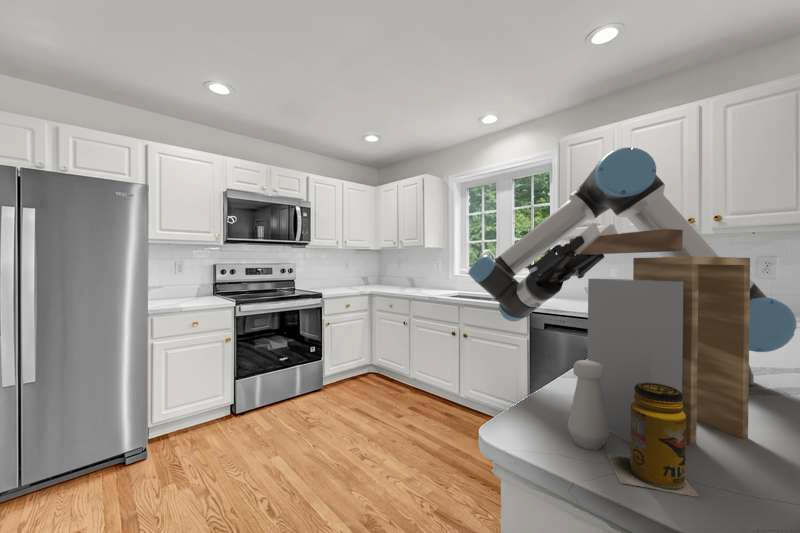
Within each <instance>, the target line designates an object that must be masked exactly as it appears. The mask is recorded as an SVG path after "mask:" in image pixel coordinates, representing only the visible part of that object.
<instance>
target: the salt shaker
mask: <svg viewBox="0 0 800 533" xmlns="http://www.w3.org/2000/svg"><path fill="white" fill-rule="evenodd" d="M572 367H573V369H572V370H573V371H572V372H573V375H575V376H576V377H577V378H576V379H577V380H576V384H575V385H576V386H575V389H574V394H573V399H572V403H571V407H570V412H569V417H568V419H567V429H568V431H569V433H570V435H571V438H572V441H573V444H575V445H576V446H579V447H580V448H583V449H584V450H593V451H594V450H595V451H598V450H600V449H601V448H602V447H603V446H604V444H605V443H606V441H607V439H608V437H609V433H610V431H609V429H608V423H607V418H606V412H605V407H604V401H603V396H602V390H601V385H600V379H602V378H603V376H604V368H603V366H602V365H601V364H600V363H597V362H594V361H590V360H587V359H581V360H577V361H575V362H574V363H573V366H572Z"/></svg>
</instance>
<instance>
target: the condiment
mask: <svg viewBox="0 0 800 533" xmlns="http://www.w3.org/2000/svg"><path fill="white" fill-rule="evenodd" d="M634 390H635V394H634V399H635V401H634V402H633V403H632V404H631V442H629V444H630V446H629V447H630V450H629V451H630V454H629V455H630V457H628V456H620V455H617V454H610V453H607V454H606V456H607V458H608V460H609V462H610V464H611V467H612V469H613V471H614V473H615V474H616V476H617V479H618V480H619V482H620V484H624V485H625V484H626V485H630V486H636V487H637V486H639V487H641V488H650V489H653V490H658V491H661V492H667V493H673V494H679V495H684V496H685V495H686V496H691V497H700V494H698V493H697V491H696V490H695V489H694V488H693V487H692V485H690V483H689V482H688V481H687V480H686V466H687V463H686V460H687V458H686V456H687V455H686V452H687V451H686V450H687V448H686V446H687V443H686V415H685V413H684V412H683V411H682V408H683V404H682V398H683V396H682V393H681V392H680V391H679V390H678V389H675V388H673V387H670V386H666V385H662V384H657V383H638V384H637V385H635V387H634Z"/></svg>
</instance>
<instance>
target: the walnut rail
mask: <svg viewBox="0 0 800 533" xmlns="http://www.w3.org/2000/svg"><path fill="white" fill-rule="evenodd" d="M575 238H576V237H575ZM575 238H574V237H573V238H569V243H570V242H571V241H573V239H575ZM682 239H683V230H676V229H660V230H650V231H641V232H640V231H633V232H625V233H618V234H612V235H602V236H600V237H599V238H597V239H596V240H595V241H594V242H593V243H592V244H590V245H589V246H588V247H587V248H586V249H584V250H583V251H582V252H581V253H580V254H576V253H575V251H574V254H575V255H590V254H604V255H611V254H612V255H614V254H635V253H637V254H638V253H639V254H641V253H658V252H669V251H682Z"/></svg>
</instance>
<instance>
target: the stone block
mask: <svg viewBox="0 0 800 533" xmlns="http://www.w3.org/2000/svg"><path fill="white" fill-rule="evenodd" d="M587 285H588V287H587V289H588V291H587V292H588V293H587V298H588V299H587V355H586V356H587V359H586V360H590V361H594V362H597V363H600V364H601V365H602V366H603V368H604V376H603V378H602V379H600V385H601V390H602V396H603V401H604V407H605V412H606V418H607V423H608V429H609V432H611V433H612V434H615V436H618V437H619V438H621V439H623V440H624V441H627V442H628V443H630V442H631V404H632V403H633V402H634V401H635V399H634V394H635V390H634V387H635V385H637V384H638V383H657V384H662V385H666V386H670V387H673V388H675V389H678V390H679V391H680V392H681V393H682V352H683V282H678V281H655V280H633V278H632V279H629V278H628V279H627V278H588V282H587Z"/></svg>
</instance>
